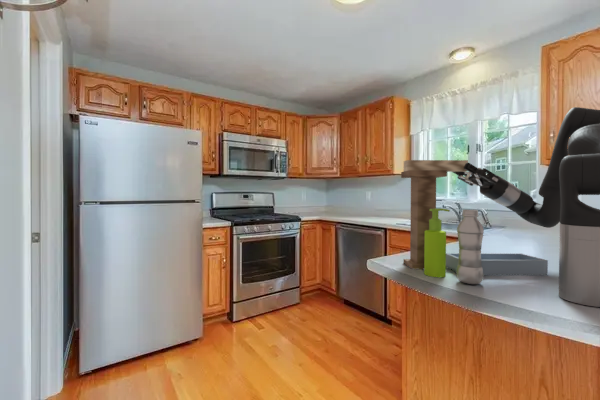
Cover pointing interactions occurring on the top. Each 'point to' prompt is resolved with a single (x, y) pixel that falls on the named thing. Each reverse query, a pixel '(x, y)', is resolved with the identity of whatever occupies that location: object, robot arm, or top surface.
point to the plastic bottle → (470, 248)
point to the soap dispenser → (435, 247)
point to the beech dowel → (435, 165)
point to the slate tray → (505, 264)
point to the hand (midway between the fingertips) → (458, 166)
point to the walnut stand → (421, 211)
